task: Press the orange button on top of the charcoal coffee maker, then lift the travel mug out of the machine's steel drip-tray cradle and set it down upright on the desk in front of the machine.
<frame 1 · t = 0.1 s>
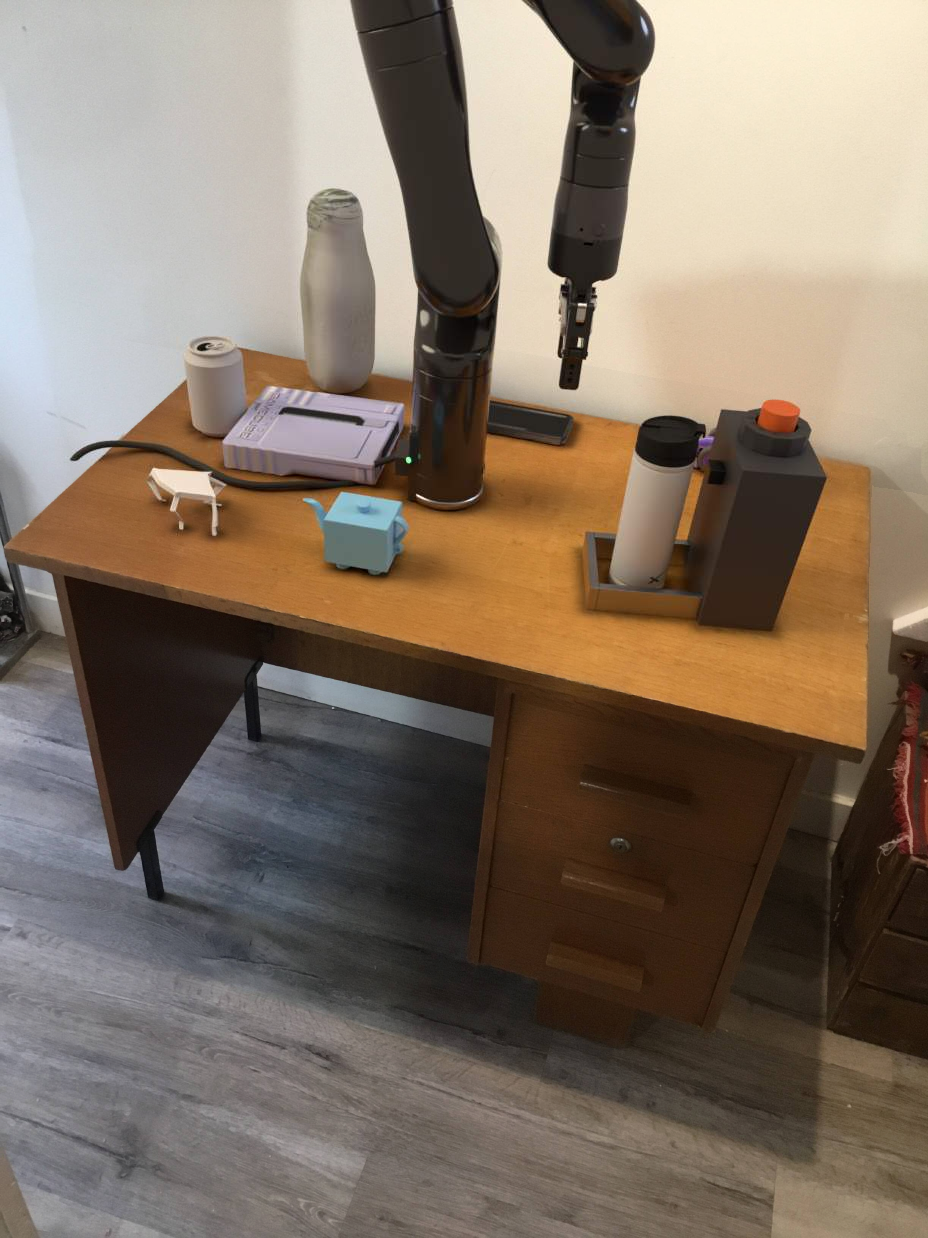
hand: (567, 372, 105), 17 cm above the table, tool pointing down, fingers open, 8 cm apart
grey bottle: (340, 390, 137), on the table
gaming console: (318, 447, 123), on the table
toy race car: (740, 469, 126), on the table
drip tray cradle: (636, 584, 103), on the table
coffee maker: (725, 592, 103), on the table
origami figure: (188, 514, 108), on the table
phone: (518, 426, 131), on the table
teapot: (356, 558, 104), on the table
travel mug: (636, 585, 103), resting in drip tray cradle
can: (221, 428, 126), on the table
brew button: (778, 416, 89), point 22 cm above the table, slide at 0.1 cm
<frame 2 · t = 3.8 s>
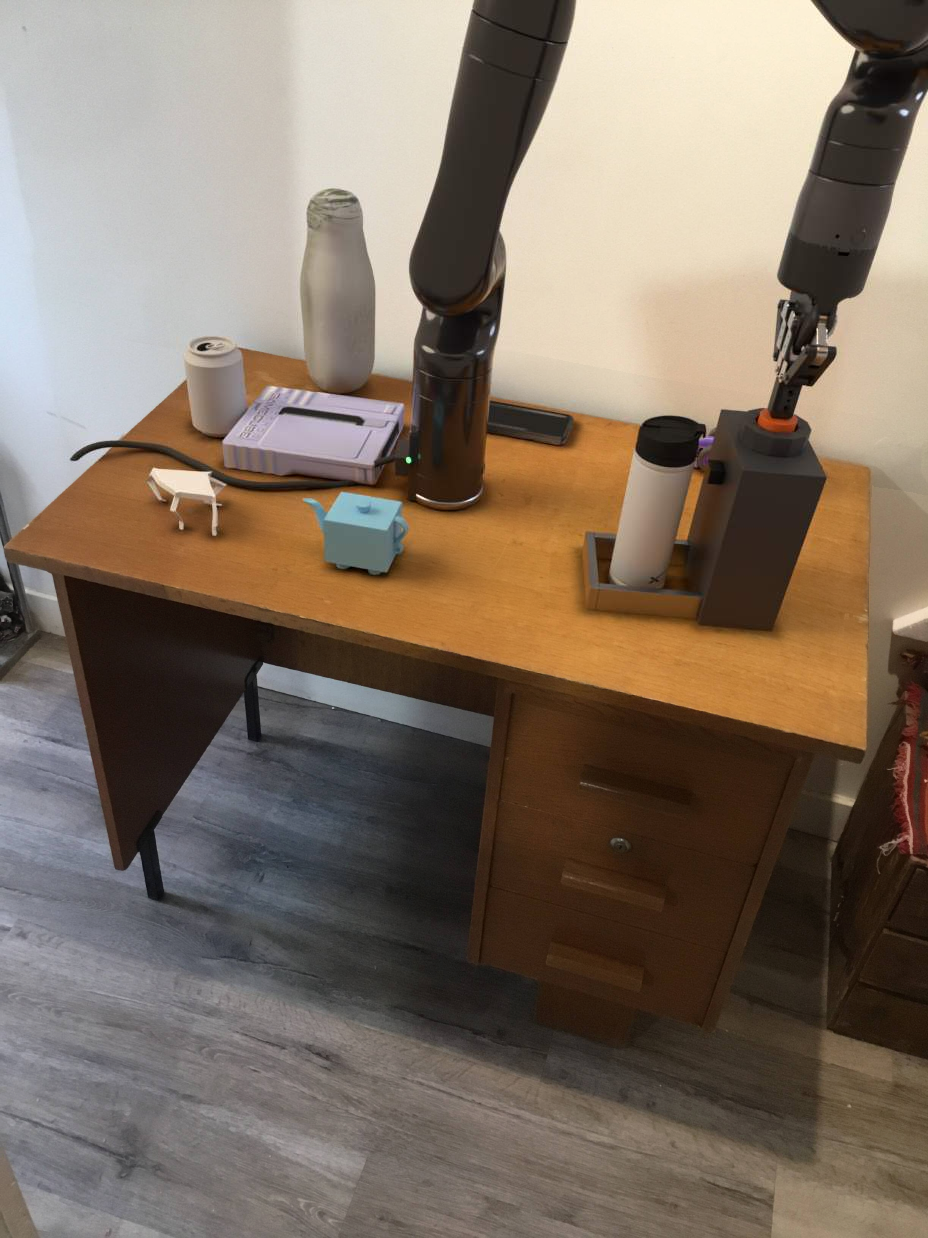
hand: (778, 415, 89), 22 cm above the table, tool pointing down, fingers closed
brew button: (776, 425, 90), point 21 cm above the table, slide at -0.8 cm, touching gripper
everything else where it was.
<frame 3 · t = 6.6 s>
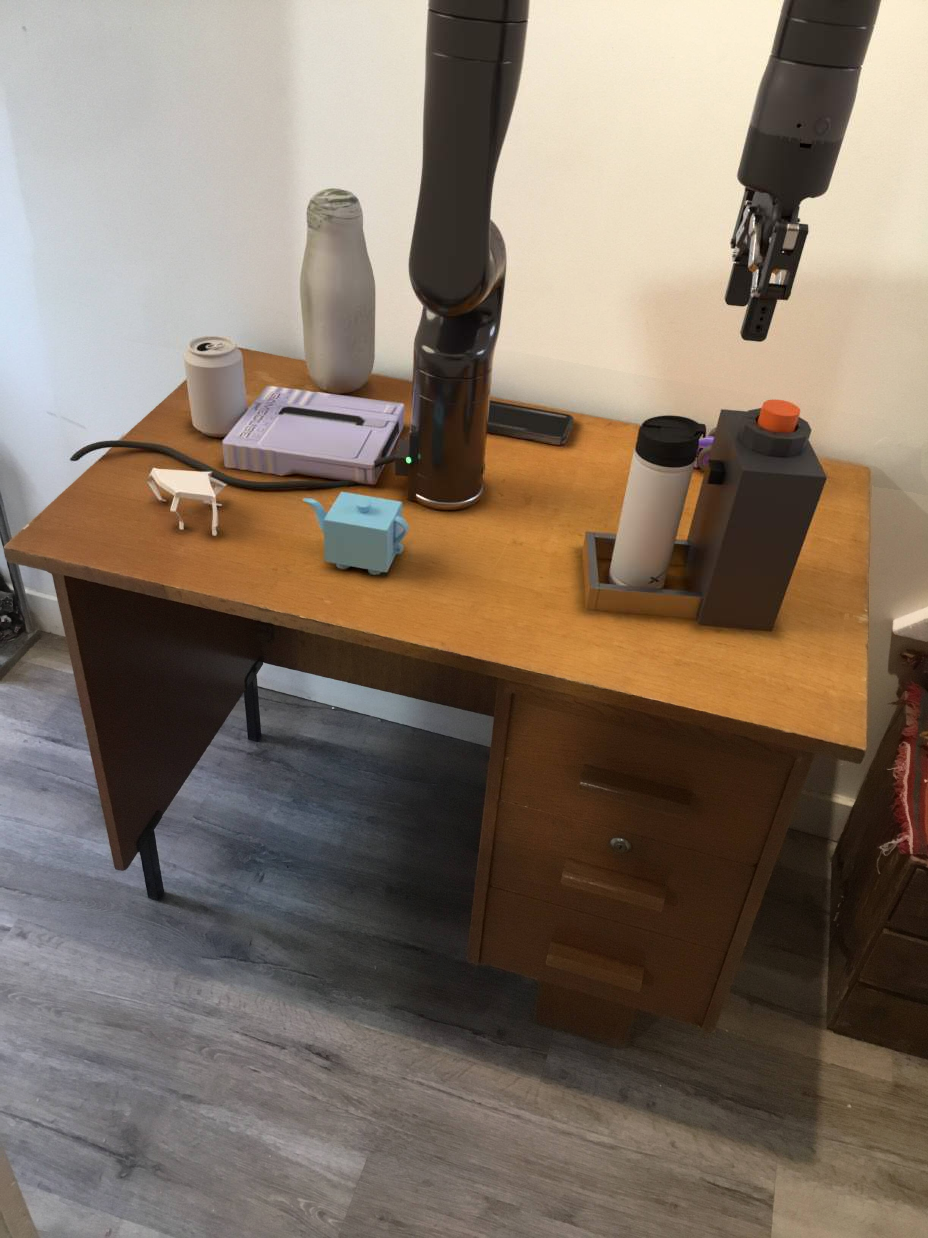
hand: (743, 321, 84), 31 cm above the table, tool pointing down, fingers open, 8 cm apart
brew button: (778, 416, 89), point 22 cm above the table, slide at 0.1 cm
everything else where it was.
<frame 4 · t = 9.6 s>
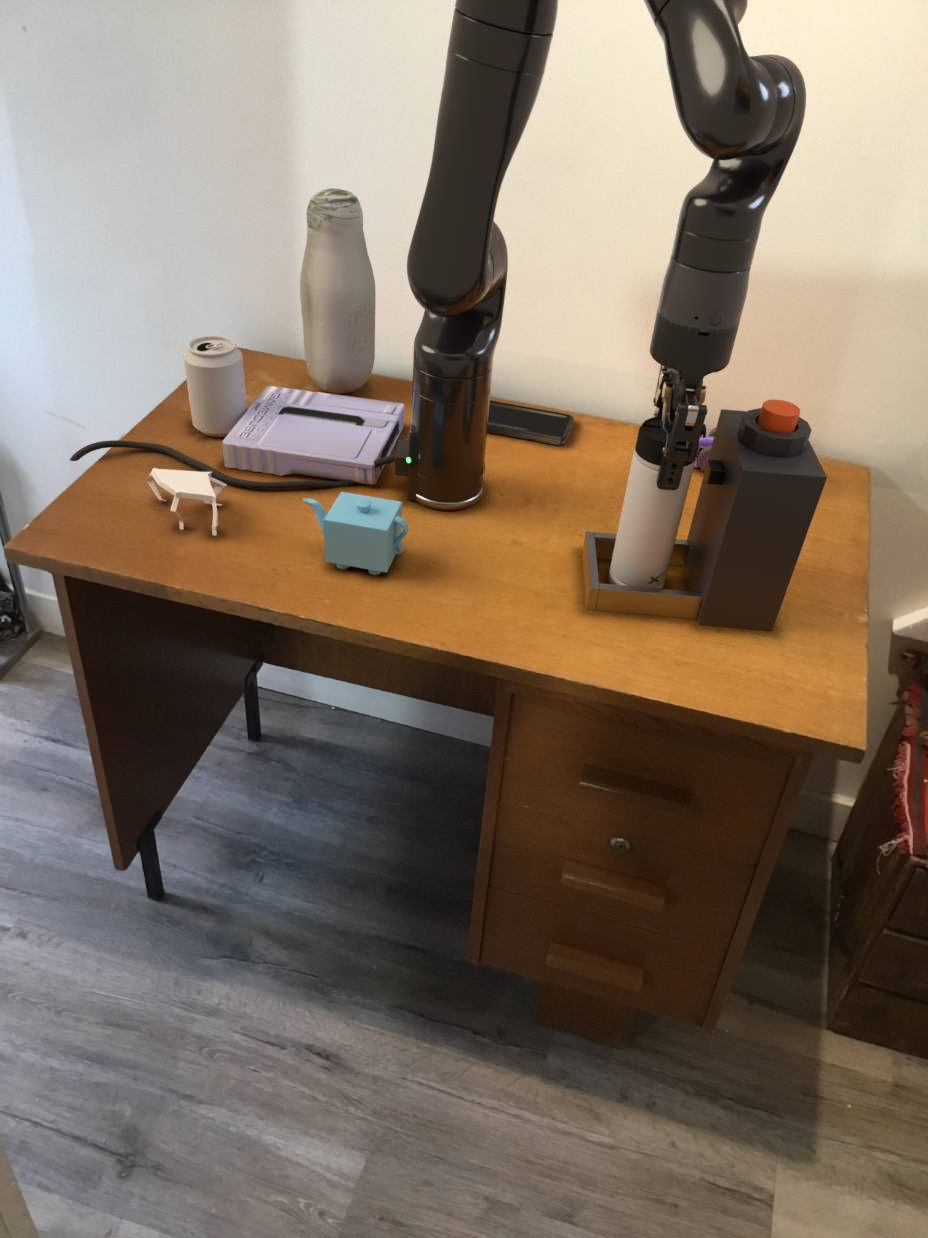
hand: (663, 470, 94), 15 cm above the table, tool pointing down, fingers closed on travel mug, 6 cm apart
travel mug: (636, 585, 103), resting in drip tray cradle, touching gripper
everything else where it was.
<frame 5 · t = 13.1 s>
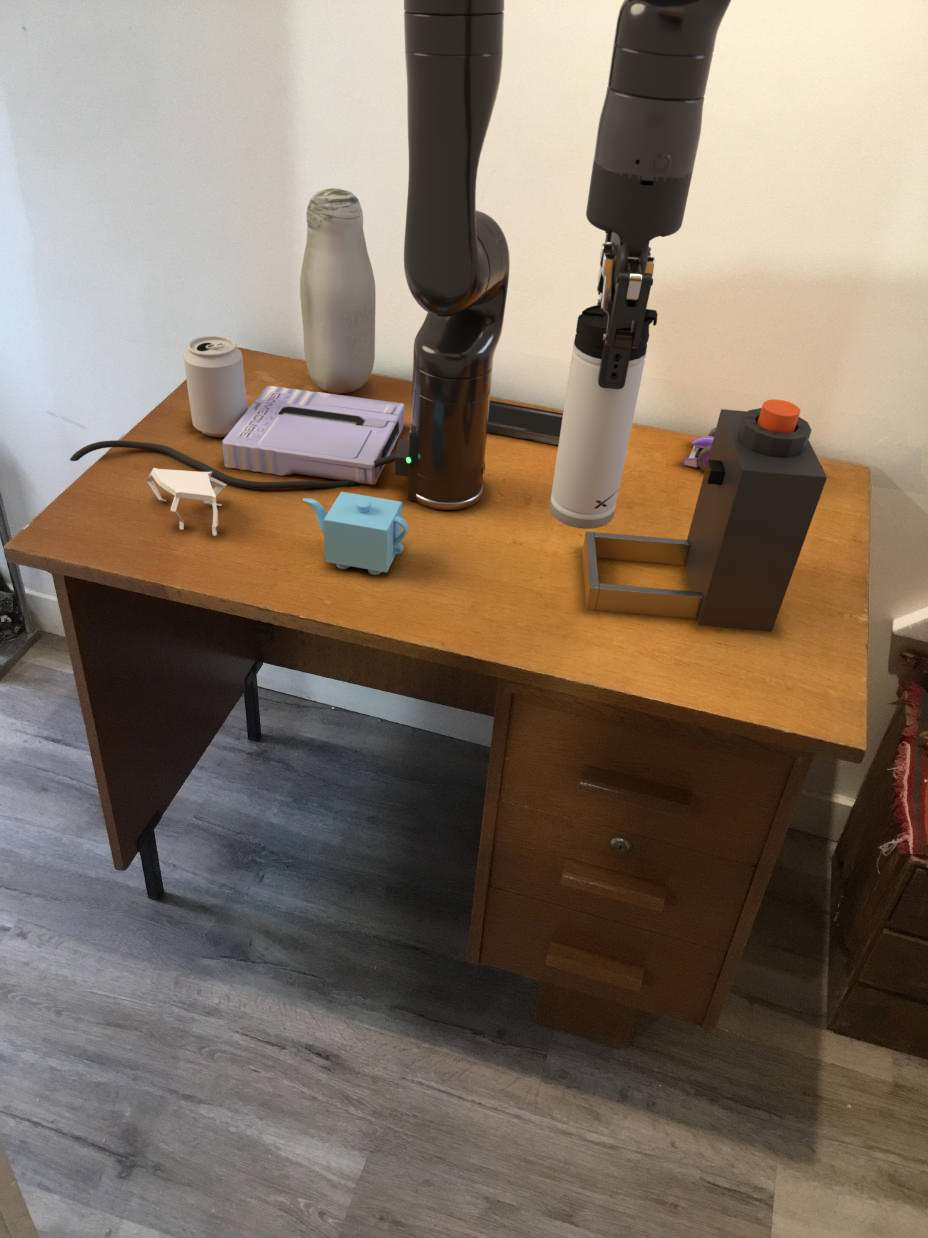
hand: (607, 369, 79), 28 cm above the table, tool pointing down, fingers closed on travel mug, 6 cm apart
travel mug: (582, 514, 88), point 13 cm above the table, touching gripper
everything else where it was.
when the fingers open (15 cm above the table, at t = 17.0 s): travel mug stays where it is, on the table.
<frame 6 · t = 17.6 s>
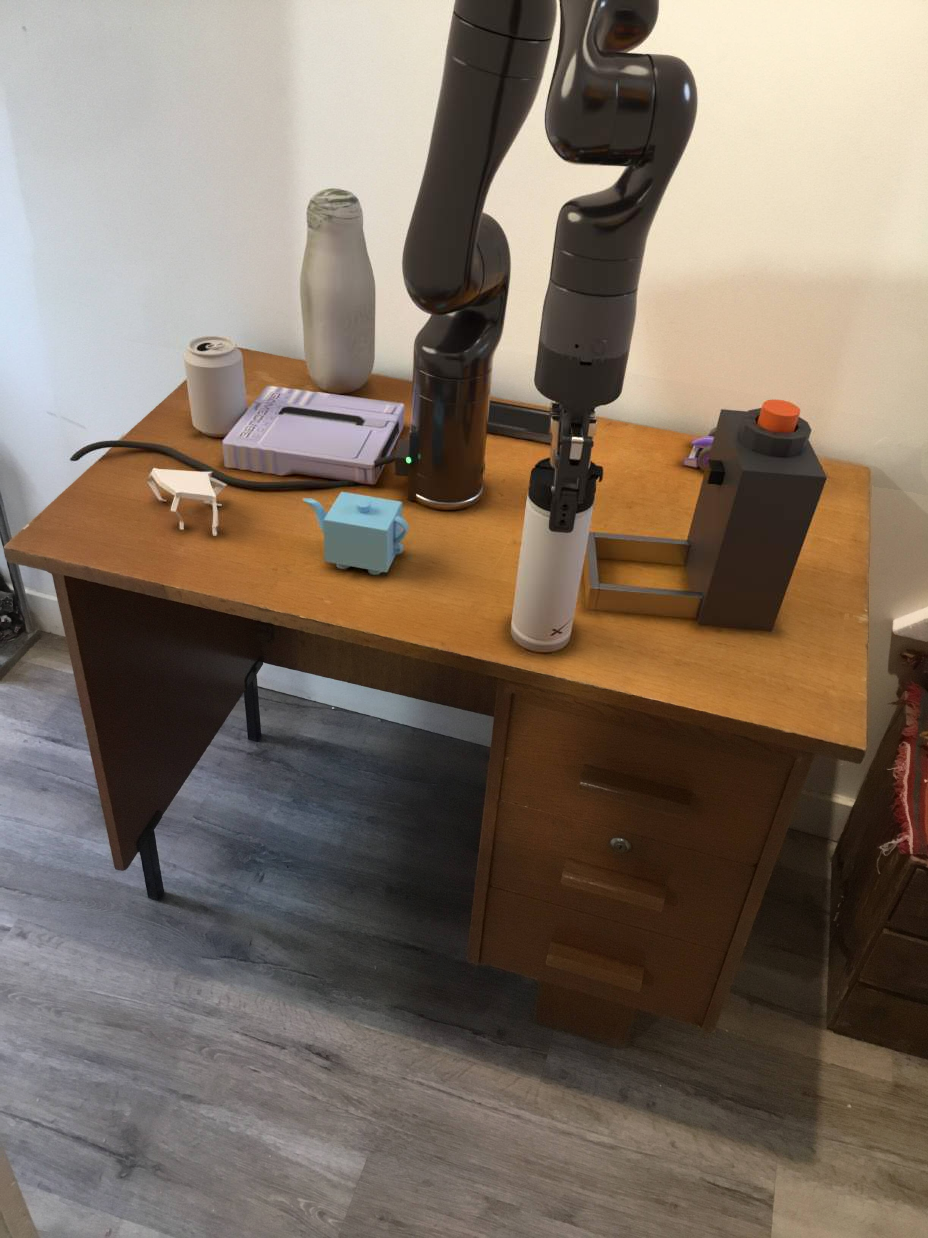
hand: (559, 505, 85), 16 cm above the table, tool pointing down, fingers open, 8 cm apart
travel mug: (541, 635, 95), on the table
everything else where it was.
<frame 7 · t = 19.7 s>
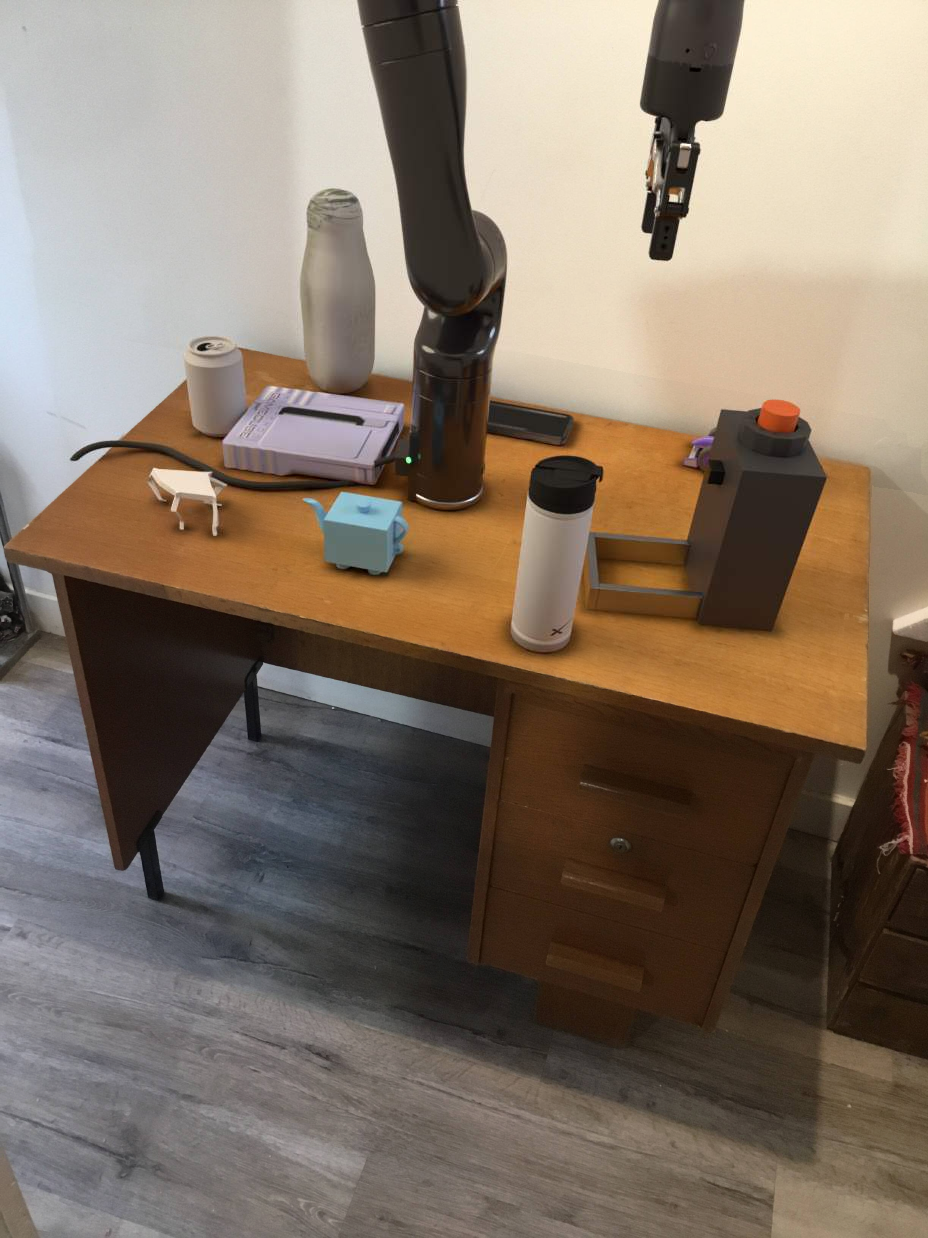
hand: (655, 245, 89), 34 cm above the table, tool pointing down, fingers open, 8 cm apart
nothing on the table moved.
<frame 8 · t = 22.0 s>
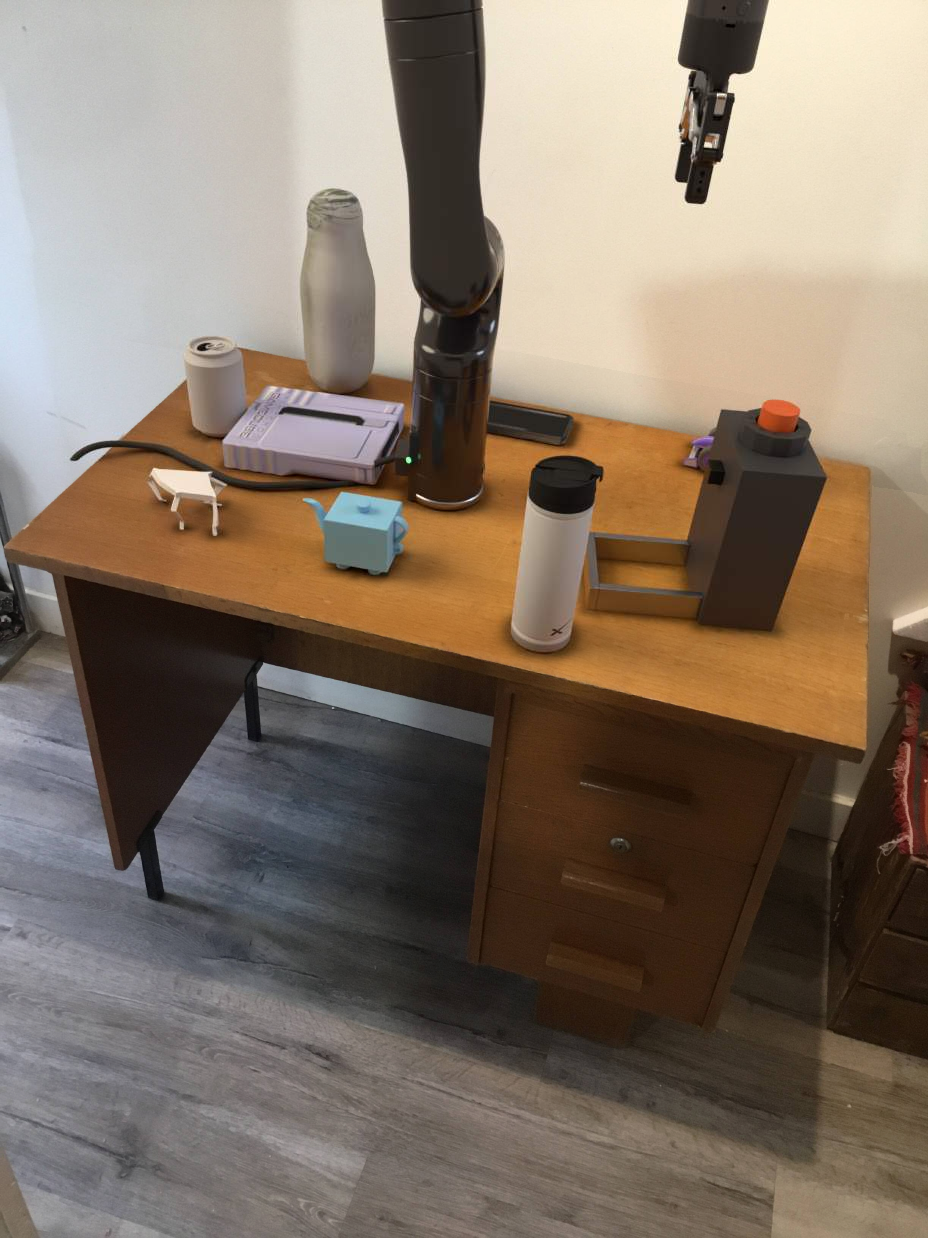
hand: (689, 191, 98), 36 cm above the table, tool pointing down, fingers open, 8 cm apart
nothing on the table moved.
at the end: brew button pushed in 1.0 cm at the most during the clip, back to where it started at the end; travel mug inside the target area (0.1 cm from its centre), on the table; travel mug tilted 0° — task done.
